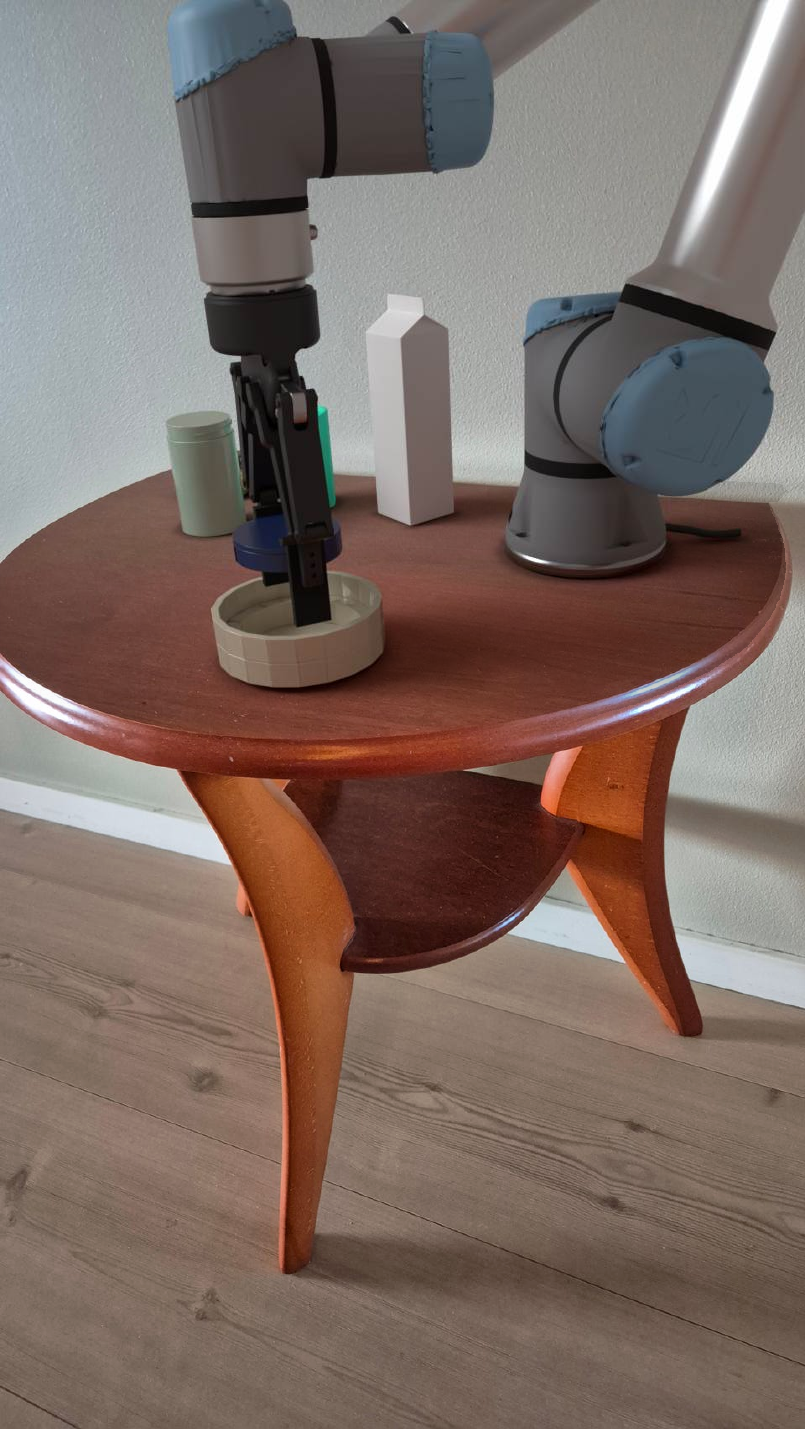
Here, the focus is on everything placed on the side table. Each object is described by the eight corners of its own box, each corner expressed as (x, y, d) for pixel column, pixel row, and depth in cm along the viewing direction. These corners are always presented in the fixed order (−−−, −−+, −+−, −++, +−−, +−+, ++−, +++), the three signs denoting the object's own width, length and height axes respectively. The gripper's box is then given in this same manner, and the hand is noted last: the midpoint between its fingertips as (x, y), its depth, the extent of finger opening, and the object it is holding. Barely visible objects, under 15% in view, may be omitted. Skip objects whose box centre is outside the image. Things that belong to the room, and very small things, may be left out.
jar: (258, 517, 109) (244, 412, 103) (225, 539, 104) (208, 428, 98) (204, 512, 112) (188, 409, 106) (169, 533, 106) (149, 425, 100)
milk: (410, 527, 104) (397, 302, 93) (377, 513, 108) (361, 297, 97) (455, 513, 107) (448, 293, 96) (421, 500, 111) (410, 289, 100)
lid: (249, 581, 70) (246, 557, 69) (223, 546, 77) (220, 523, 76) (357, 559, 73) (355, 536, 72) (323, 527, 79) (321, 505, 79)
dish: (410, 629, 82) (407, 578, 80) (340, 704, 72) (335, 649, 69) (271, 611, 87) (265, 563, 85) (187, 679, 76) (177, 626, 74)
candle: (272, 505, 112) (259, 397, 106) (314, 492, 116) (303, 387, 110) (304, 516, 108) (292, 405, 102) (346, 503, 112) (337, 394, 106)
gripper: (366, 296, 58) (389, 643, 70) (271, 267, 75) (302, 550, 87) (243, 309, 56) (287, 666, 67) (173, 277, 73) (218, 566, 84)
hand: (295, 600), depth 77 cm, fingers closed on lid, 8 cm apart
